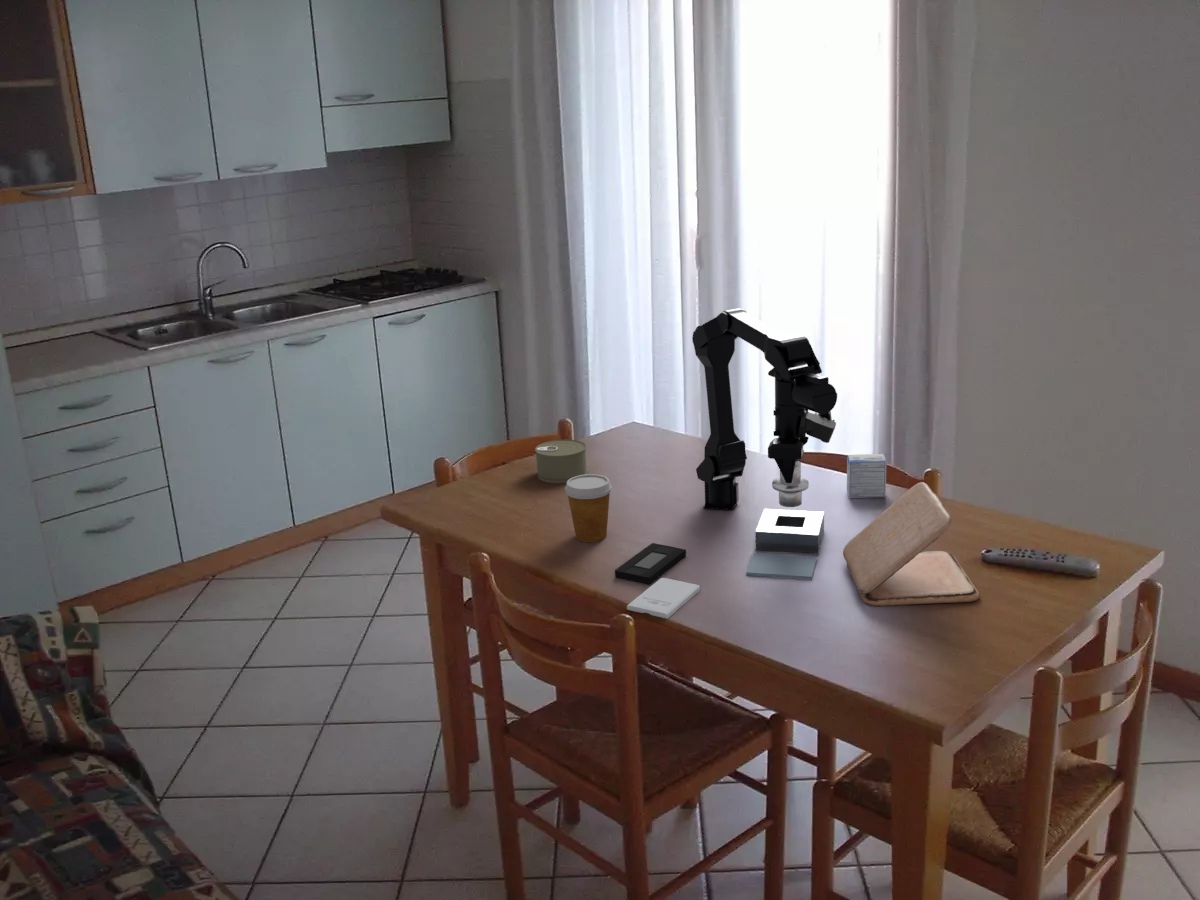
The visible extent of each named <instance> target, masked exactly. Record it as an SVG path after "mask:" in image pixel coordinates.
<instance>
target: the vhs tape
mask: <svg viewBox="0 0 1200 900" xmlns="http://www.w3.org/2000/svg"><path fill="white" fill-rule="evenodd" d="M686 557H687V549H686V548H681V547H677V546H676V547H675V546H671V545H665V544H659V543H655V542H653V543H650V544H649V545H647V546H646V547H645V548H643V549H642V550H640V551H639V552H638V553H636V554H635V555H634V556H632V557H631V558H629V559H628V560H626V561H625V562H623V564H621V565H619V567H617V568H616V569H614V578H615V579H618V580H623V581H628V582H633V583H637V584H642V585H647V586H650V585H653V584H654V583H655V582H657V581H658V580H659V579H660V578H662V576H663V575H665V574H666V573H667V572H668V571H670V570H671V569H672V568H674V567H675V566H676V565H677V564H679V563H680V562H681V561H683V560H684V559H685V558H686Z"/></svg>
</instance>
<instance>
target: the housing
mask: <svg viewBox="0 0 1200 900" xmlns="http://www.w3.org/2000/svg"><path fill="white" fill-rule="evenodd" d="M757 524H758V525H757V527H756V528H755V551H758V552H759V551H760V552H761V551H762V552H773V553H777V552H778V553H787V554H788V553H790V554H791V553H792V554H807V555H808V554H809V555H819V552H820V548H821V544H822V540H823V535H824V532H825V511H819V510H818V511H816V510H815V511H814V510H813V511H812V510H800V509H799V510H798V509H797V510H796V509H776V508H764V509H763V512H762V514H761V517H760V519H759V521H758V523H757Z"/></svg>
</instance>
